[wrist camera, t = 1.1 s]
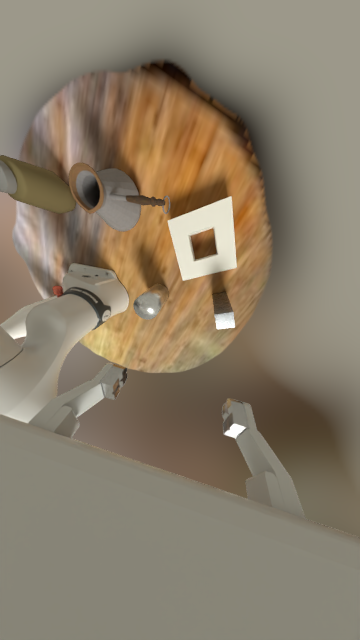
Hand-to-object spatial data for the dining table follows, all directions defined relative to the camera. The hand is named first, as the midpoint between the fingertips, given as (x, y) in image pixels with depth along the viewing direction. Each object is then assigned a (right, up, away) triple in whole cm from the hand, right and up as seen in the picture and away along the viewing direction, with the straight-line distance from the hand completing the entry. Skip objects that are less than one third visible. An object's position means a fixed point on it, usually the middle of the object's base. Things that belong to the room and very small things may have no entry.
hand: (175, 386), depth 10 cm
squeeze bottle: (-30, +38, +25) cm, 55 cm away
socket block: (+7, +25, +25) cm, 36 cm away
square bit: (+13, +12, +32) cm, 36 cm away
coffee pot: (-9, +34, +24) cm, 42 cm away
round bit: (-7, +14, +35) cm, 38 cm away
